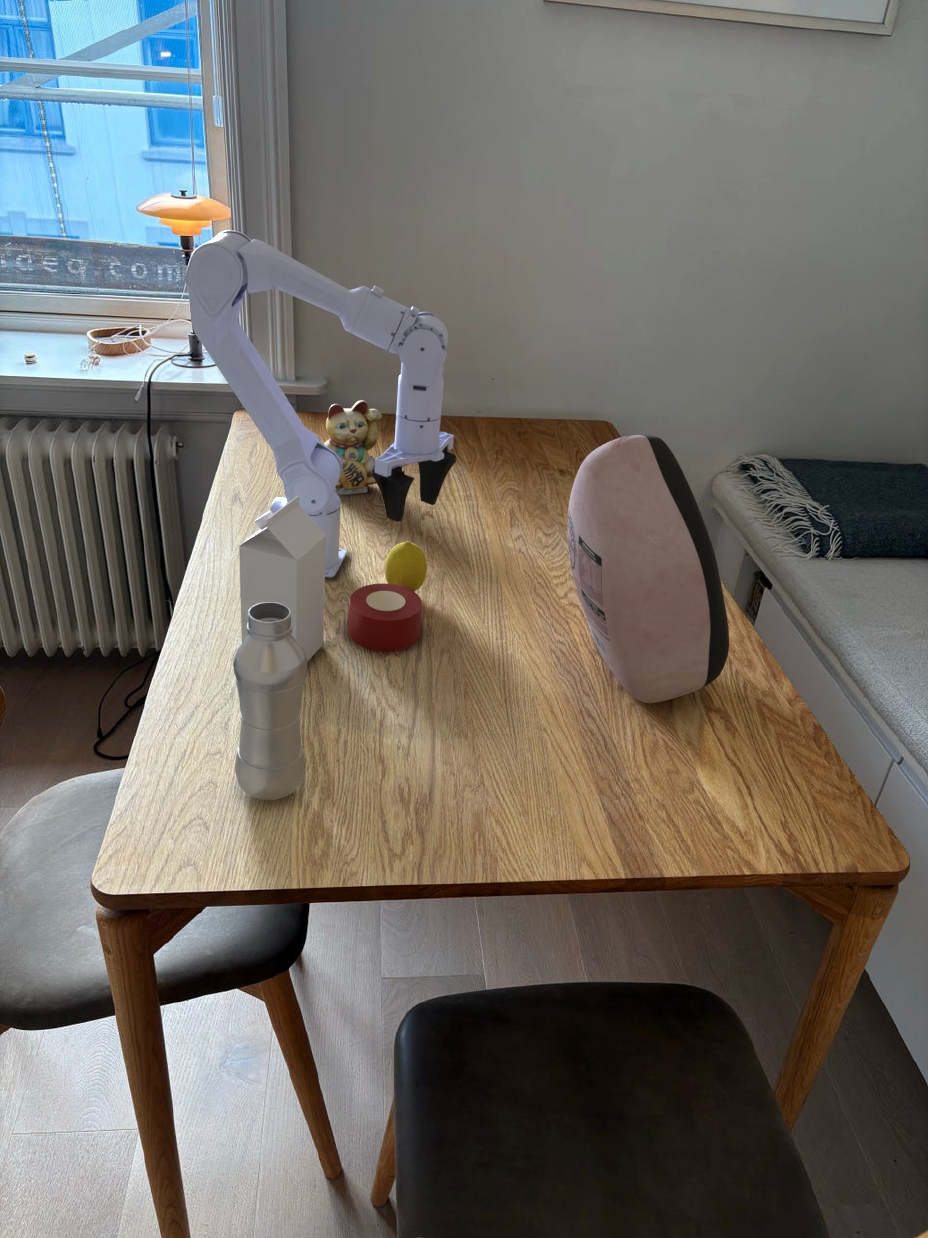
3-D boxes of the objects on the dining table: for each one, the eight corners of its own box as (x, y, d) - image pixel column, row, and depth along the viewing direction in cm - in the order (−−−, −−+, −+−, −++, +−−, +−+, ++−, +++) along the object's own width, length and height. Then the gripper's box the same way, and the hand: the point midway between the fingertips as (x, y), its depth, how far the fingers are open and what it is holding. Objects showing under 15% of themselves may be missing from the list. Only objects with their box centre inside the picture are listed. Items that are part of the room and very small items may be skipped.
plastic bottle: (239, 764, 95) (233, 592, 85) (307, 765, 96) (310, 595, 86) (231, 809, 90) (224, 630, 80) (303, 809, 91) (306, 633, 80)
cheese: (339, 645, 116) (341, 612, 113) (357, 608, 123) (358, 577, 121) (412, 656, 115) (414, 624, 113) (425, 619, 123) (428, 588, 120)
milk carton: (323, 645, 115) (327, 502, 106) (296, 675, 109) (297, 526, 100) (271, 630, 117) (270, 488, 107) (241, 659, 111) (237, 511, 101)
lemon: (378, 600, 126) (381, 547, 122) (389, 581, 130) (393, 529, 126) (419, 608, 125) (423, 554, 121) (428, 588, 130) (433, 536, 126)
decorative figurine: (329, 500, 151) (331, 408, 143) (309, 479, 157) (311, 391, 149) (384, 492, 155) (389, 403, 148) (363, 473, 161) (367, 387, 154)
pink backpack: (735, 724, 110) (809, 483, 94) (573, 728, 106) (621, 479, 90) (670, 623, 128) (722, 408, 113) (529, 624, 124) (563, 402, 109)
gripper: (409, 436, 114) (401, 537, 121) (476, 409, 125) (465, 504, 132) (363, 420, 117) (359, 519, 124) (432, 395, 128) (425, 488, 135)
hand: (411, 510), depth 128 cm, fingers open, 7 cm apart
